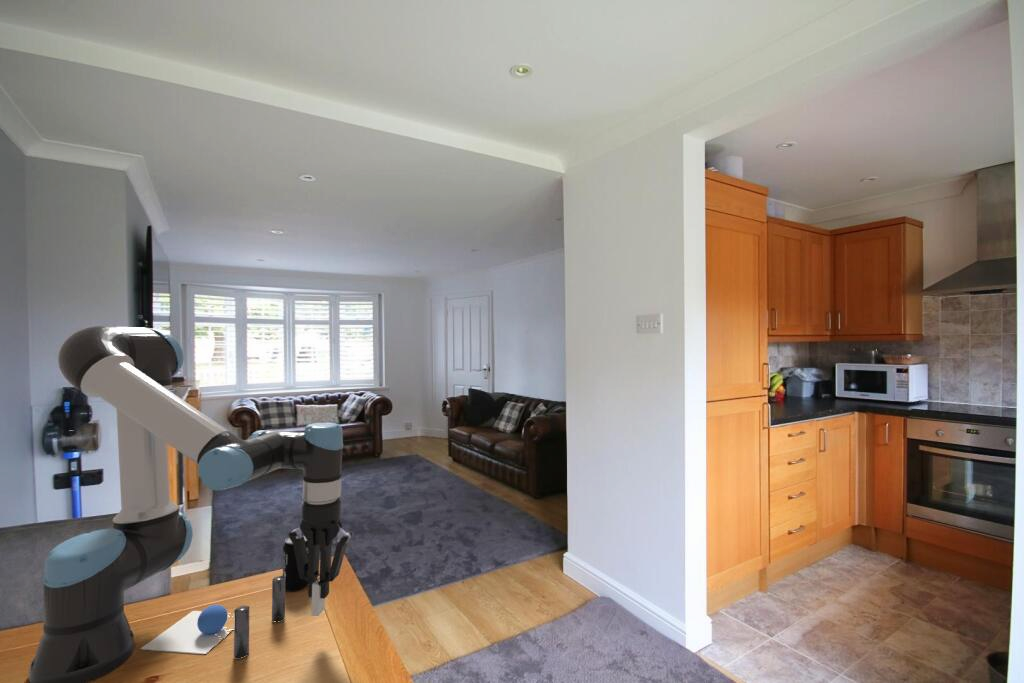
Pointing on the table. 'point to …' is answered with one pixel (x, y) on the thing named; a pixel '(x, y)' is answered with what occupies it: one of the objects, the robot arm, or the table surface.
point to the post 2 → (278, 598)
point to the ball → (212, 619)
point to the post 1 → (241, 631)
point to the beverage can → (292, 567)
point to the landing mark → (186, 637)
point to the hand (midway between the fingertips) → (317, 612)
